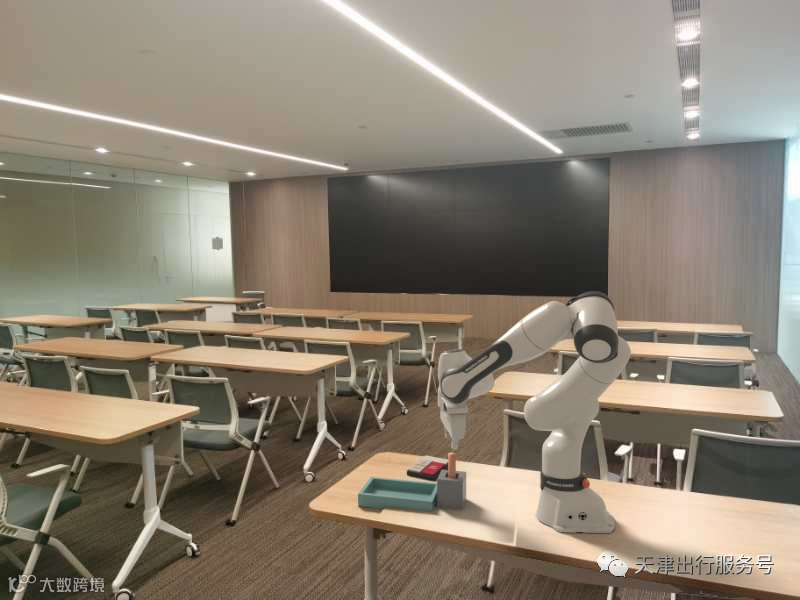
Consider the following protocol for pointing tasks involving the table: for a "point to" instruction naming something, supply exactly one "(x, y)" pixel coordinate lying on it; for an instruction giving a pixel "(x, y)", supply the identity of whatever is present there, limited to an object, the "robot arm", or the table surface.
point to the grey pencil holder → (451, 490)
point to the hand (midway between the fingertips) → (451, 443)
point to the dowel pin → (451, 465)
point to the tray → (398, 494)
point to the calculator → (428, 468)
